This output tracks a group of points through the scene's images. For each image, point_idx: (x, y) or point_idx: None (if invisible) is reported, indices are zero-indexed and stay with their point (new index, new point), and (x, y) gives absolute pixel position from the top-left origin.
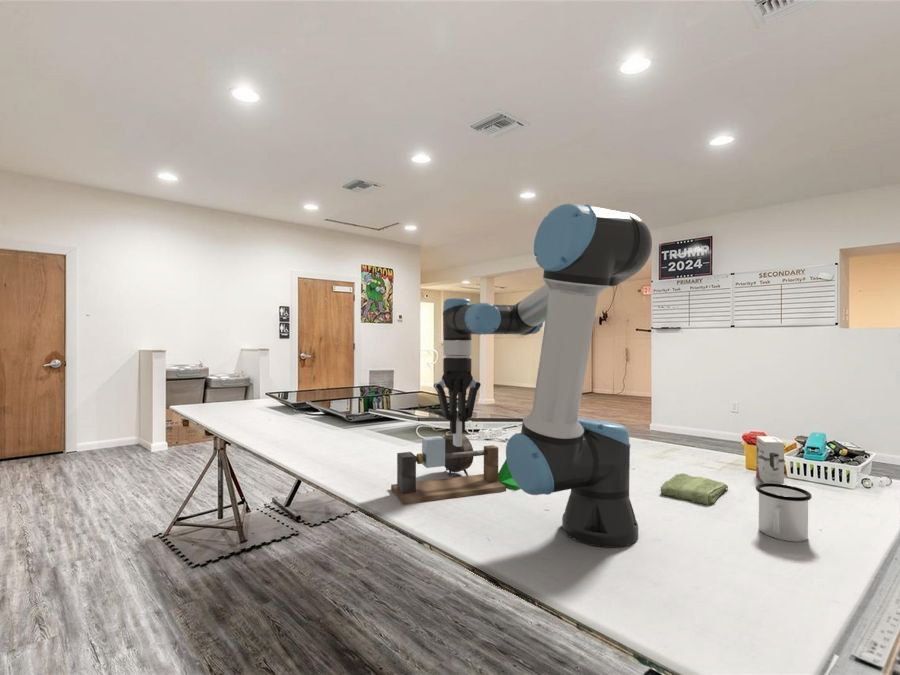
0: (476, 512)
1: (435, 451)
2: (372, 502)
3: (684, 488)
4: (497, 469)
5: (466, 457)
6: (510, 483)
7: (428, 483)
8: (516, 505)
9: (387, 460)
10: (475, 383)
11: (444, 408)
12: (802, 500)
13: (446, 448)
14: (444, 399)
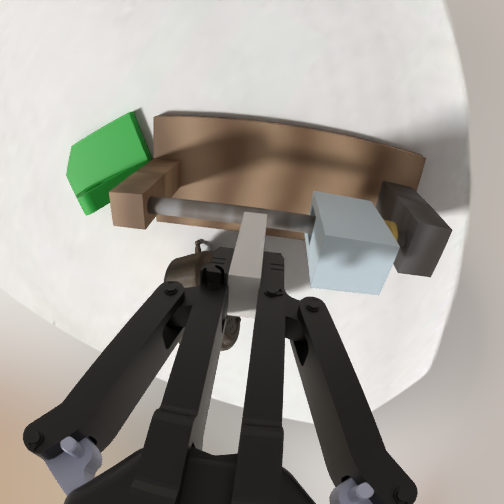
0: (304, 21)
1: (356, 218)
2: (454, 200)
3: None
4: (142, 167)
5: (193, 259)
6: (133, 136)
7: None
8: (189, 21)
9: (297, 375)
10: (57, 458)
11: (344, 352)
12: None
13: (228, 317)
14: (351, 406)
